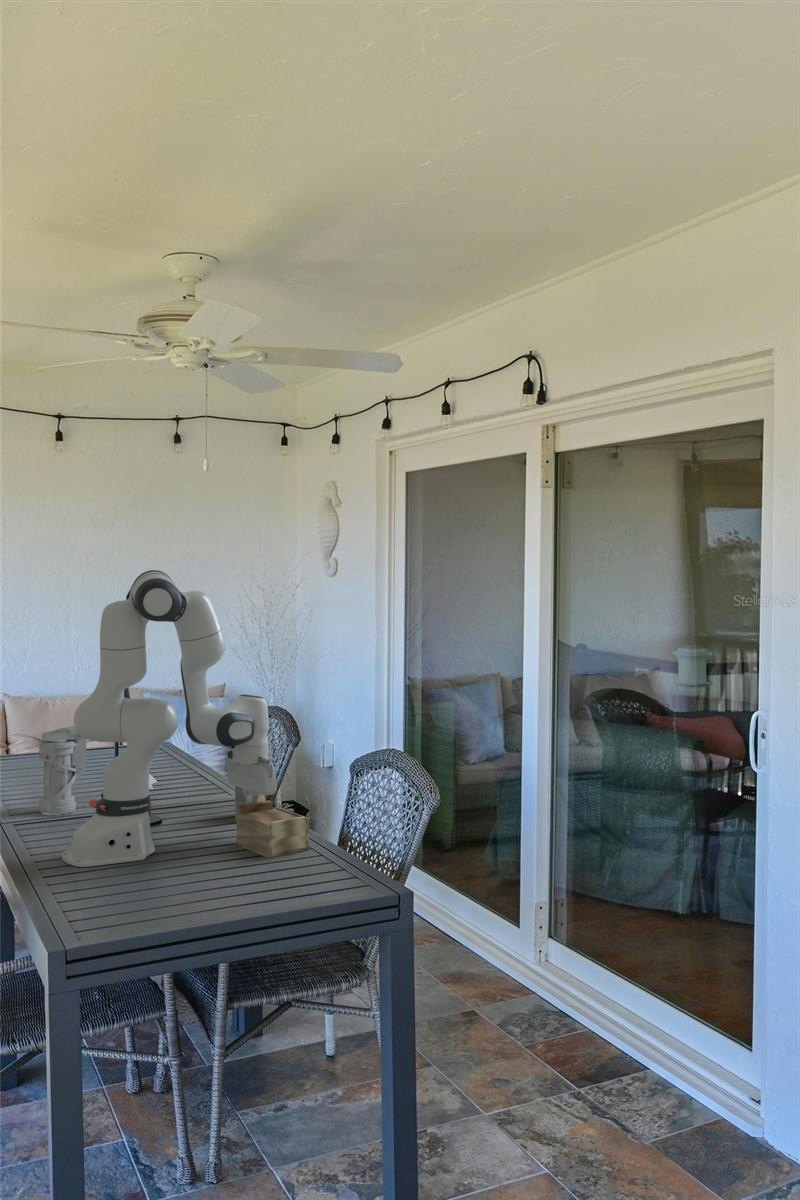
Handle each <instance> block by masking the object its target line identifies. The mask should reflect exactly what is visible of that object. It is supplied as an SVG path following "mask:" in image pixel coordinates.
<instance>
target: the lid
mask: <svg viewBox="0 0 800 1200" xmlns="http://www.w3.org/2000/svg"><path fill="white" fill-rule="evenodd" d="M273 806H274V802H273V801H271V800H269V799H268V800H266V801H262V802H255V803H249V804H242V805H239V813H240V814H242V815H245V816H248V817H250V818H253V819H256V820H258V821H261V822H264V823H266V824H269V825H270V822H274V821H280V820H286V819H292V818H298V817H297V816H294V815H291V814H289V813H286V812H283V811H280V810H277V809H275V807H273Z"/></svg>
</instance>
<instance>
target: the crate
mask: <svg viewBox="0 0 800 1200" xmlns="http://www.w3.org/2000/svg"><path fill="white" fill-rule="evenodd" d="M274 809H277V810H280V811H283V812H286V813H289V814H291V815H294V816H297V817H298V818H292V819H286V820H280V821H274V822H270V825H269V824H266V823H264V822H261V821H258V820H256V819H253V818H250V817H248V816H245V815H242V814H240V813H237V820H236V845H238V846H240V847H242V848H245V849H246V850H249V851H252V852H254V853H255V854H259V855H260V856H262V857H266V858H268V859H269V858H274V857H279V856H284V855H285V856H286V855H289V854H294V853H300V852H306V851H309V850H310V848H309V847H310V843H309V842H310V839H309V837H310V836H309V835H310V831H309V830H310V829H309V828H310V821H309V820H310V818H309V817H307V816H304V815H301V814H298V813H296V812H292V811H290V810H287V809H283V808H281V807H278V806H275V807H274Z"/></svg>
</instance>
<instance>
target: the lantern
mask: <svg viewBox="0 0 800 1200" xmlns="http://www.w3.org/2000/svg"><path fill="white" fill-rule="evenodd" d="M41 736H42V737H41V739H42V740H41V741H40V742H38V745H39V746H38V748H39V749H38V752H39V755H38V759H39V761H41V762H43V794H42V796H40V798H39V800H38V803H39V804H38V805H39V812H40V811H41V812H43V813H50V814H61V813H68V812H72V811H74V810H75V811H76V808H77V801H75V796H74V795H73V784H74V783H75V781H76V779H78V778H81V776H82V775H83V773H84V772H85V771H86V770H87V739H83V738H81V737H80V736H79V735H78V734H77V732H76V730H75V727H74V725H72V726H65V727H61V728H57V729H53V730H49V731H45V732H42V735H41ZM75 811H74V812H75ZM41 812H40V813H41Z"/></svg>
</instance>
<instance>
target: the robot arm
mask: <svg viewBox="0 0 800 1200" xmlns="http://www.w3.org/2000/svg"><path fill="white" fill-rule="evenodd" d="M219 619H220V618H219V616H218V613H217V610H216V608H215V606H214V604H213V601H212V600H211V598H210V596H209V594H207V593H206V592H203V591H200V590H191V591H187V592H184V591H181V590H179V588H178V587H177V585H176V582H174V580H173V579H172V578H171V576H169V575H168V574H167V573H166V572H163V571H161V570H157V569H152V570H151V569H150V570H147V571H144V572H142V573H141V574H140V575H138V576H137V577H136V578H135V580H134V581H133V583H132V584H131V587H130V589H129V590H128V592H127V594H126V597H125V600H118V601H117V600H116V601H114V602H111V603H108V605H106V606H104V608H103V610H102V613H101V619H100V626H99V627H100V628H99V655H100V661H99V662H100V663H99V665H100V666H99V678H98V682H97V683H96V687H95V688H94V690H93V691H92V693H91V694H90V695H89V696H88V697H87V698H86V699H84V701H83V700H82V702H81V703H80V704H79V705H78V707H76V709H75V712H74V715H73V726H74V727H75V730H76V732H77V734H78V735H79V736H80V737H81V738H83V739H86V741H87V740H89V741H91V742H92V741H94V742H98V743H126V744H127V746H126V750H125V752H124V753H122V754H120V755H117V756H116V757H114V758H112V759H111V760H109V761H108V762H107V763H106V764H105V766H104V768H103V772H102V773H103V774H102V775H103V777H102V778H103V779H102V782H103V783H102V784H103V787H102V788H103V789H102V791H103V792H102V794H103V795H102V797H101V799H99V800H97V799H95V798H92V799H90V800H89V801H88V806H89V807H91V808H93V809H95V814H94V815H92V816H91V817H90V818H89V819H88V820H87V821H85V822H84V823H83V824H82V825H81V826H79V827H78V828H77V829H76V830H75V831H74V832H73V835H72V839H71V845H70V849H68V850H65V851H63V852H62V853H61V857H60V858H61V859H62V861H63V862H64V863H66V864H68V865H69V866H73V867H79V868H88V867H90V868H91V867H95V866H105V865H113V864H120V863H121V864H122V863H129V862H137V861H143V860H145V859H146V858H147V857H148V856H150V855H151V854H153V853H155V851H156V847H155V844H154V842H153V836H152V831H151V830H152V829H151V821H150V816H151V808H152V807H151V804H152V803H151V795H150V794H149V789H150V787H149V786H150V785H149V784H150V769H151V765H152V761H153V758H154V756H155V754H156V752H157V751H158V750H159V748H160V747H161V746H162V745H163V744H164V743H165V742H166V741H168V740H169V739H171V738H172V736H173V735H174V734H175V732H176V731H177V728H178V724H179V716H178V712H177V710H176V707H175V706H174V705H173V704H172V702H170V701H167V700H161V699H157V698H128V697H125V690H126V689H128V688H131V687H132V686H134V685H136V684H138V683H139V682H141V681H142V680H143V679H144V678H145V676H146V674H147V670H148V666H147V665H148V664H147V643H146V640H147V639H146V631H147V629H146V628H147V625H148V622H149V621H151V622H170V623H173V625H174V627H175V630H176V634H177V639H178V641H179V647H180V651H181V659H180V663H179V665H180V674H181V675H180V676H181V681H182V687H183V693H184V701H185V705H186V706H185V707H186V708H185V709H186V714H185V731H186V734H187V736H188V737H189V739H190V740H191V741H192V742H194V743H196V744H198V745H210V746H211V745H212V746H214V747H215V746H216V747H223V748H231V749H228V750H227V751H226V752H225V755H226V759H227V764H226V772H227V773H226V776H227V781H228V784H229V785H231V786H234V787H235V786H237V787H240V788H243V789H244V795H245V798H246V804H249V803H255V802H257V800H258V797H259V795H260V794H261V795H264V796H273V795H275V794H276V793H277V788H278V787H277V774H276V769H275V766H274V764H273V763H272V762H271V760H270V759H269V738H268V730H269V726H270V725H269V721H270V719H269V709H268V708H269V707H268V704H267V703H268V702H267V701H266V699H265V698H264V697H263V696H258V695H252V694H239V695H238V696H237V698H236V699H235V700H234V701H233V702H232V703H230V705H228V706H226V707H223V708H219V707H217V708H216V707H215V706H214V705H213V704H212V703H211V701H210V697H209V689H208V682H207V672H208V669H210V668H212V667H213V666H215V665H216V664H217V663H218V662H220V660H221V659H222V658H223V656H224V654H225V650H226V649H225V648H226V647H225V644H226V642H225V638H224V634H223V629H222V625H221V622H220V620H219ZM232 747H233V748H232Z"/></svg>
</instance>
